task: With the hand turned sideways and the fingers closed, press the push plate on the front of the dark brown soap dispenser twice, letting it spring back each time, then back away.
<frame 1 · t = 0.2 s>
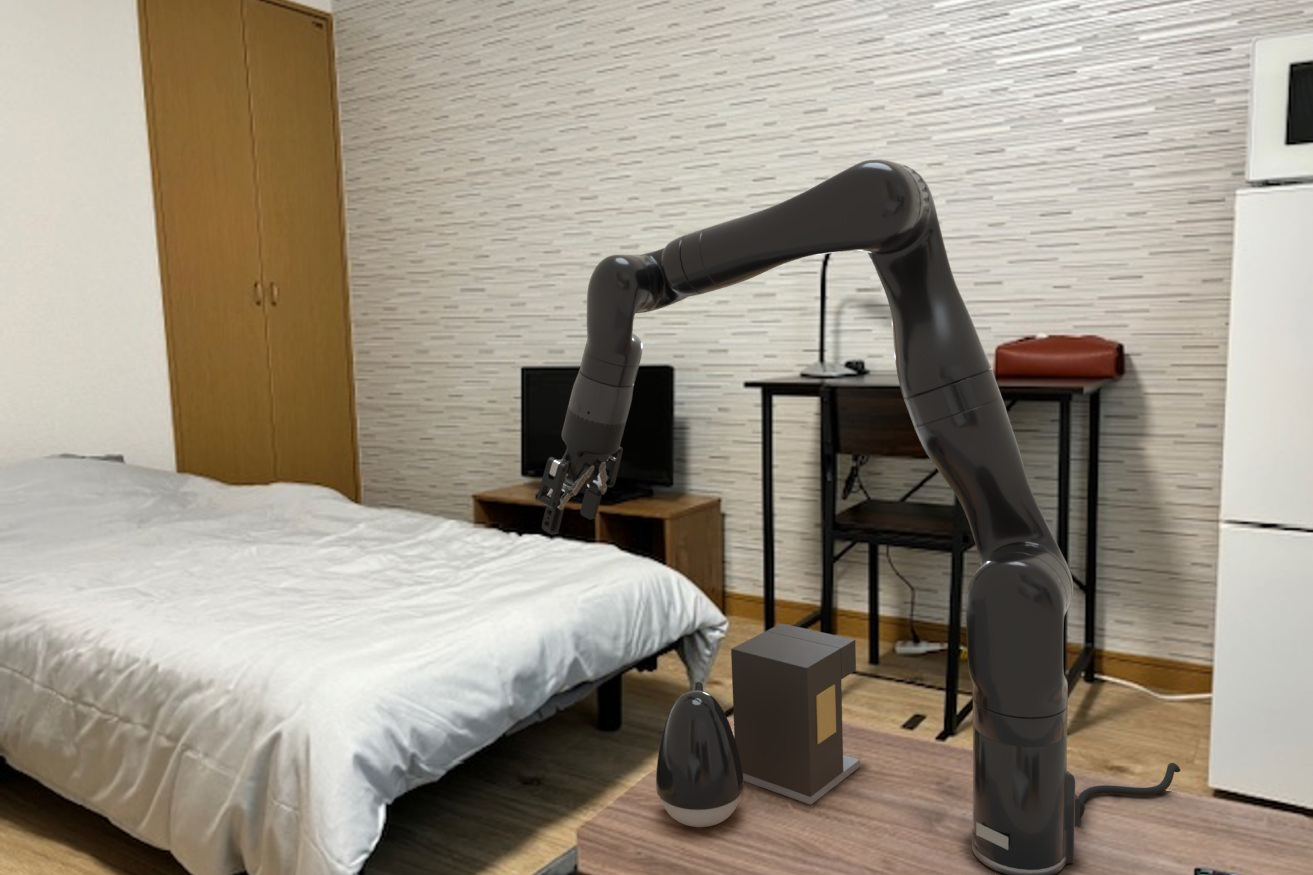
hand: (568, 524, 129), 31 cm above the table, tool tilted 20°, fingers open, 8 cm apart
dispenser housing: (792, 776, 124), on the table
pump dispenser: (701, 816, 116), on the table
push plate: (813, 692, 126), point 9 cm above the table, slide at -0.1 cm
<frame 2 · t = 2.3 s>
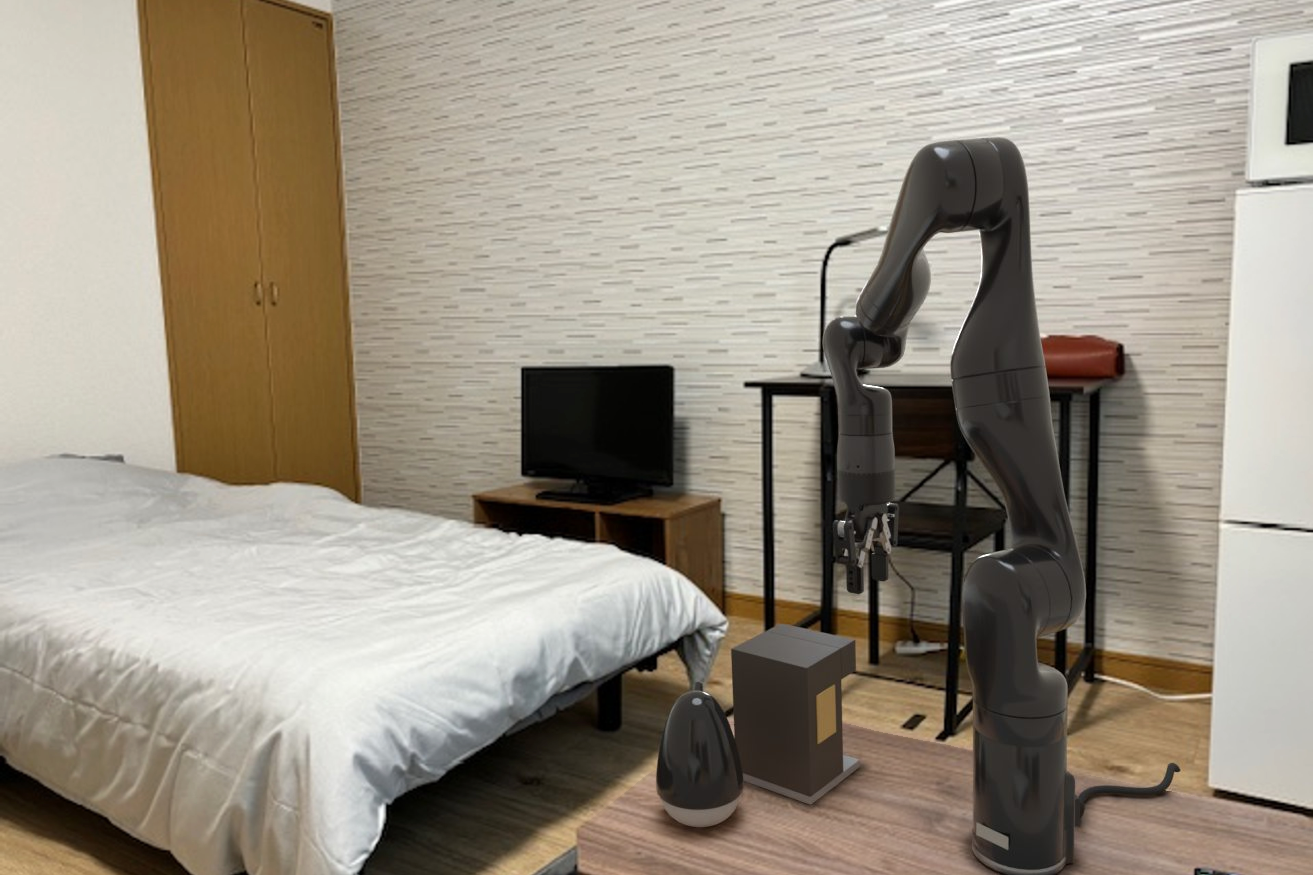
hand: (868, 585, 135), 20 cm above the table, tool pointing down, fingers open, 6 cm apart
nothing on the table moved.
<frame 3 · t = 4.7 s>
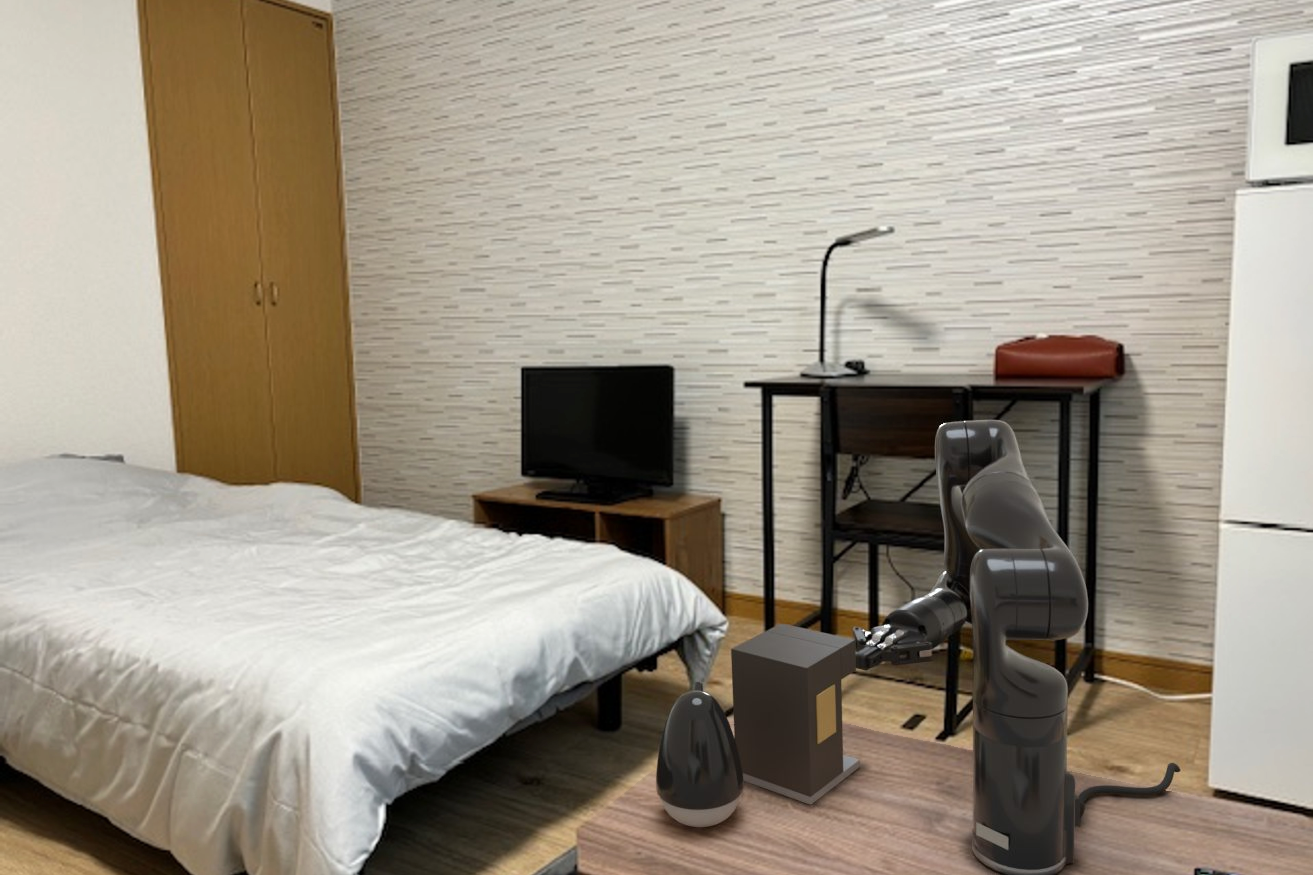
hand: (860, 662, 135), 9 cm above the table, tool horizontal, fingers closed
nothing on the table moved.
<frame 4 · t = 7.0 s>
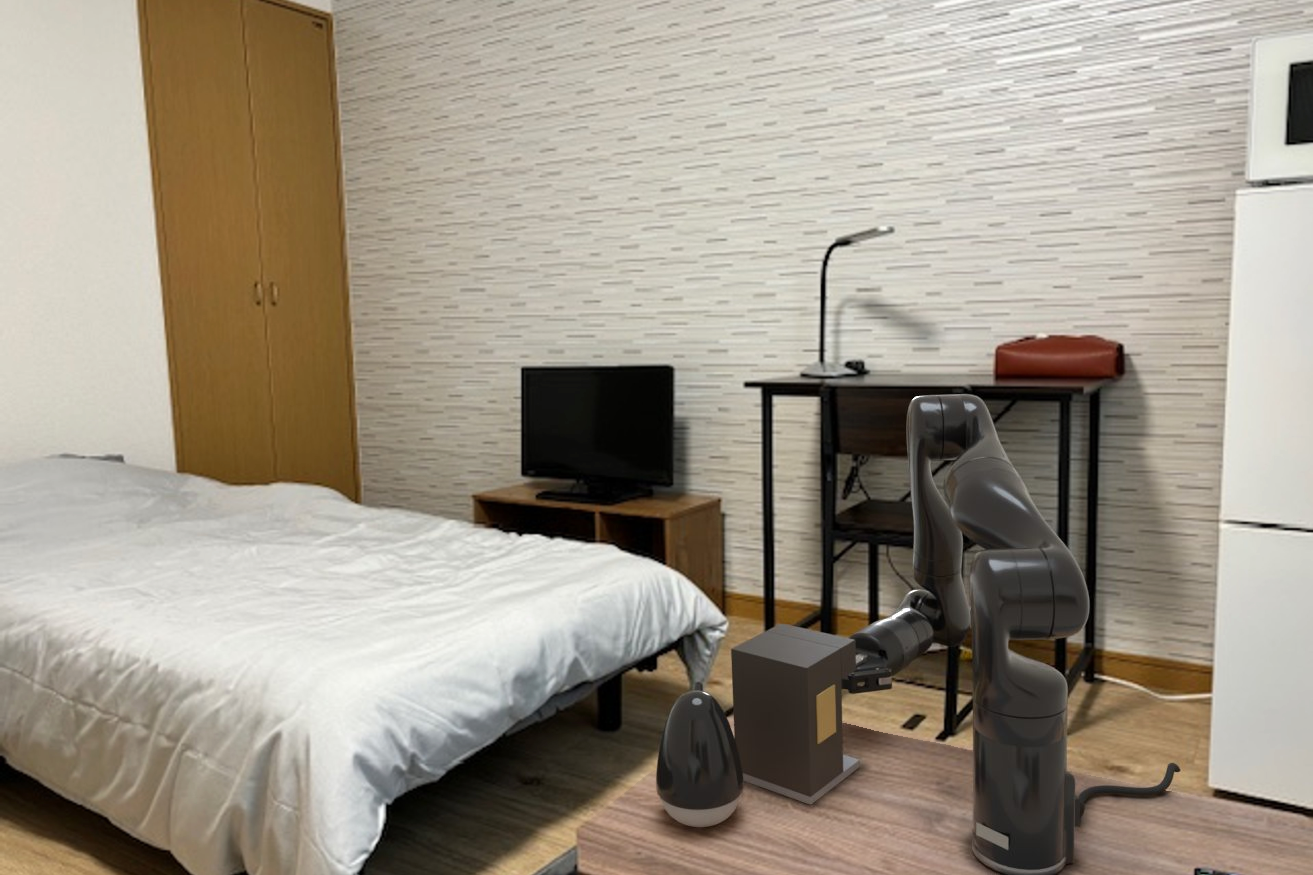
hand: (814, 691, 126), 9 cm above the table, tool horizontal, fingers closed
push plate: (811, 693, 126), point 9 cm above the table, slide at 0.4 cm, touching gripper
everything else where it was.
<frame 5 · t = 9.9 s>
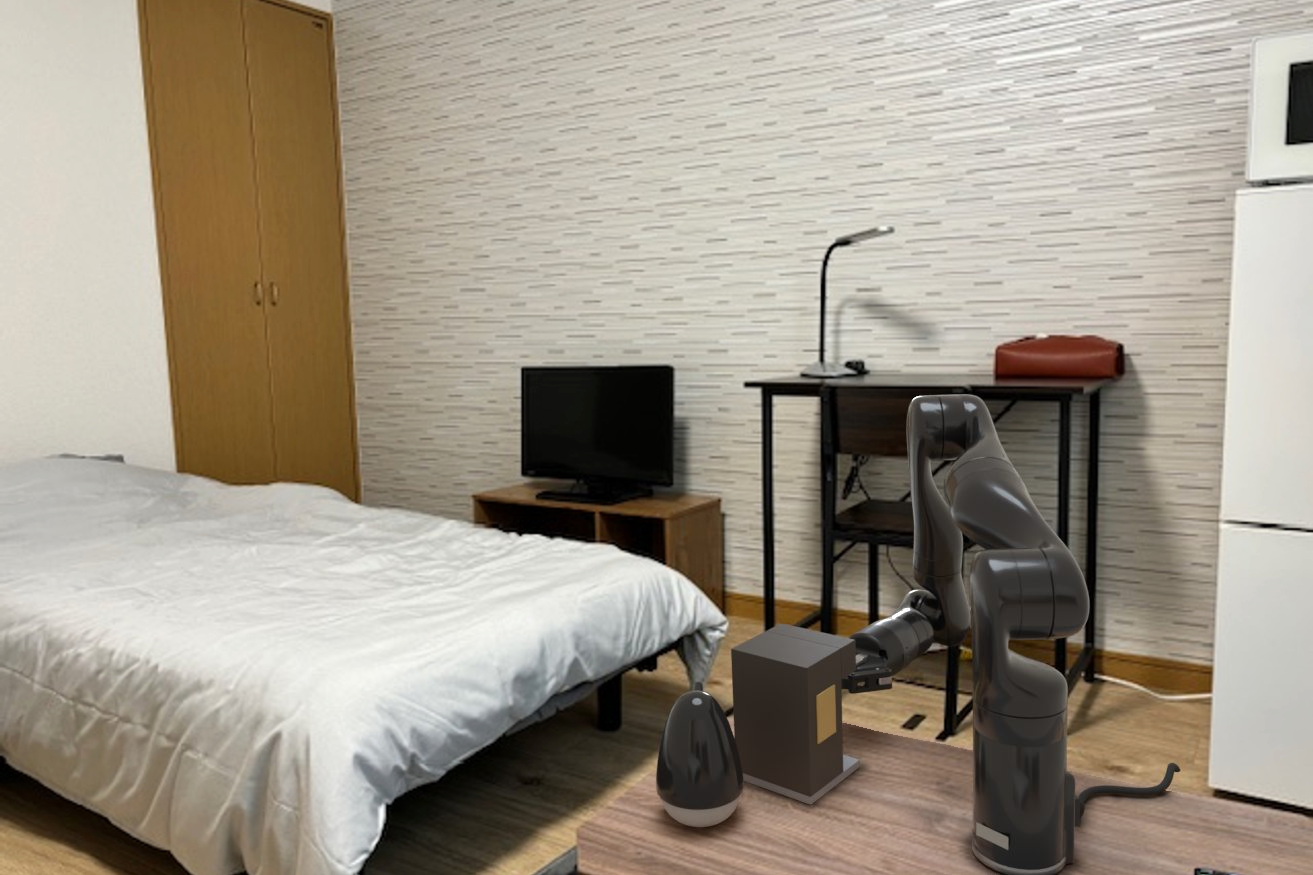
hand: (814, 691, 126), 9 cm above the table, tool horizontal, fingers closed
nothing on the table moved.
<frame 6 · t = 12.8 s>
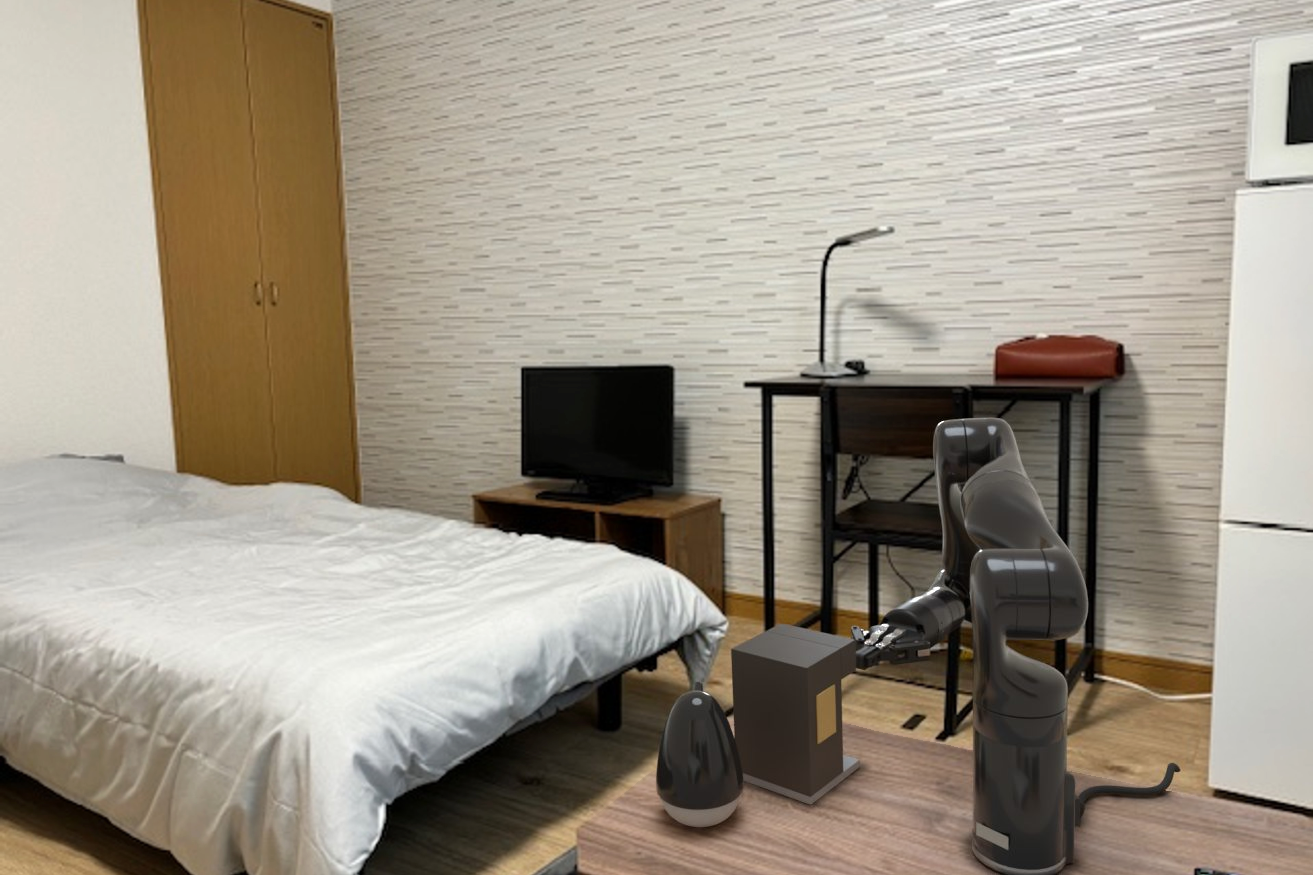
hand: (858, 662, 135), 9 cm above the table, tool horizontal, fingers closed
push plate: (813, 692, 126), point 9 cm above the table, slide at -0.1 cm
everything else where it was.
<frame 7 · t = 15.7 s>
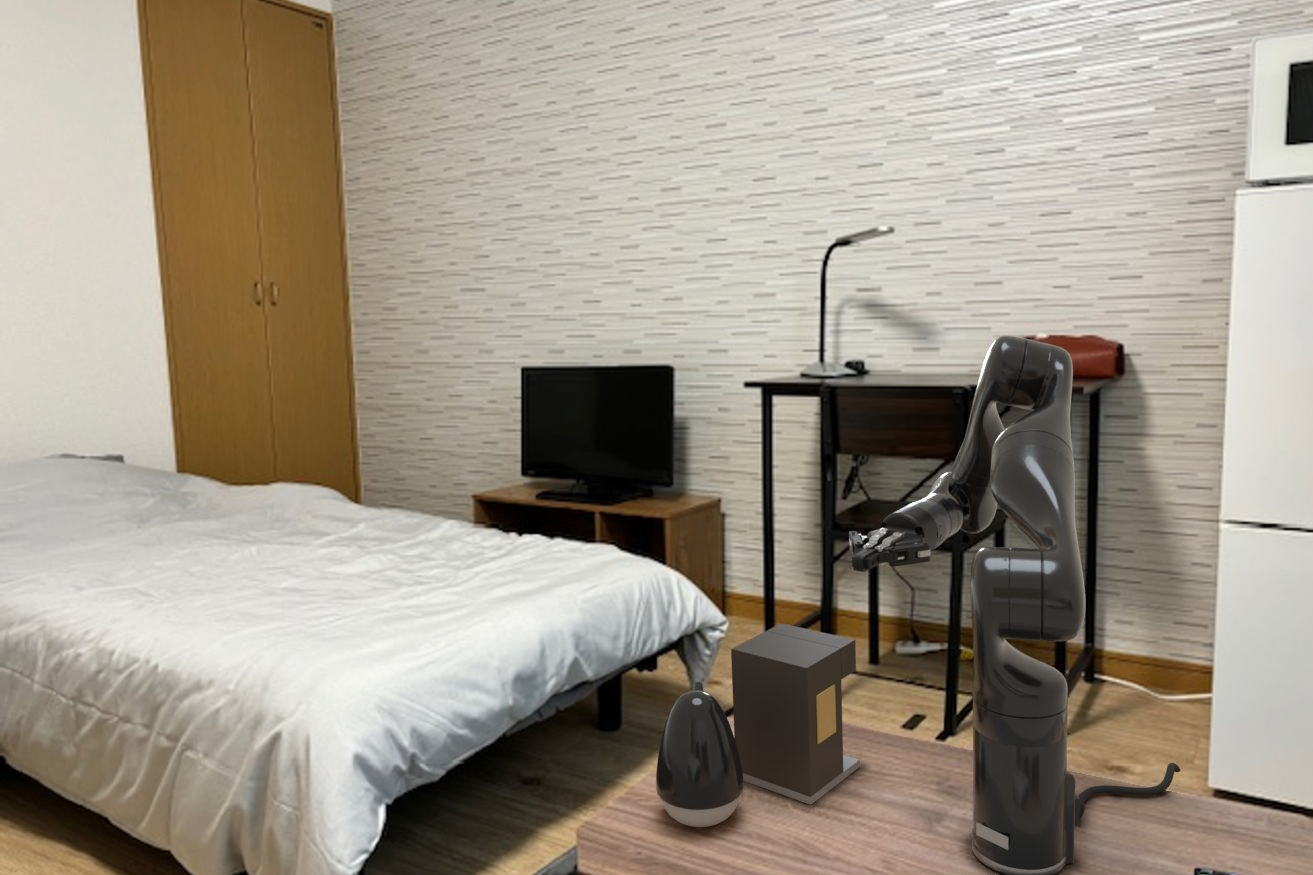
hand: (858, 564, 133), 23 cm above the table, tool horizontal, fingers closed
nothing on the table moved.
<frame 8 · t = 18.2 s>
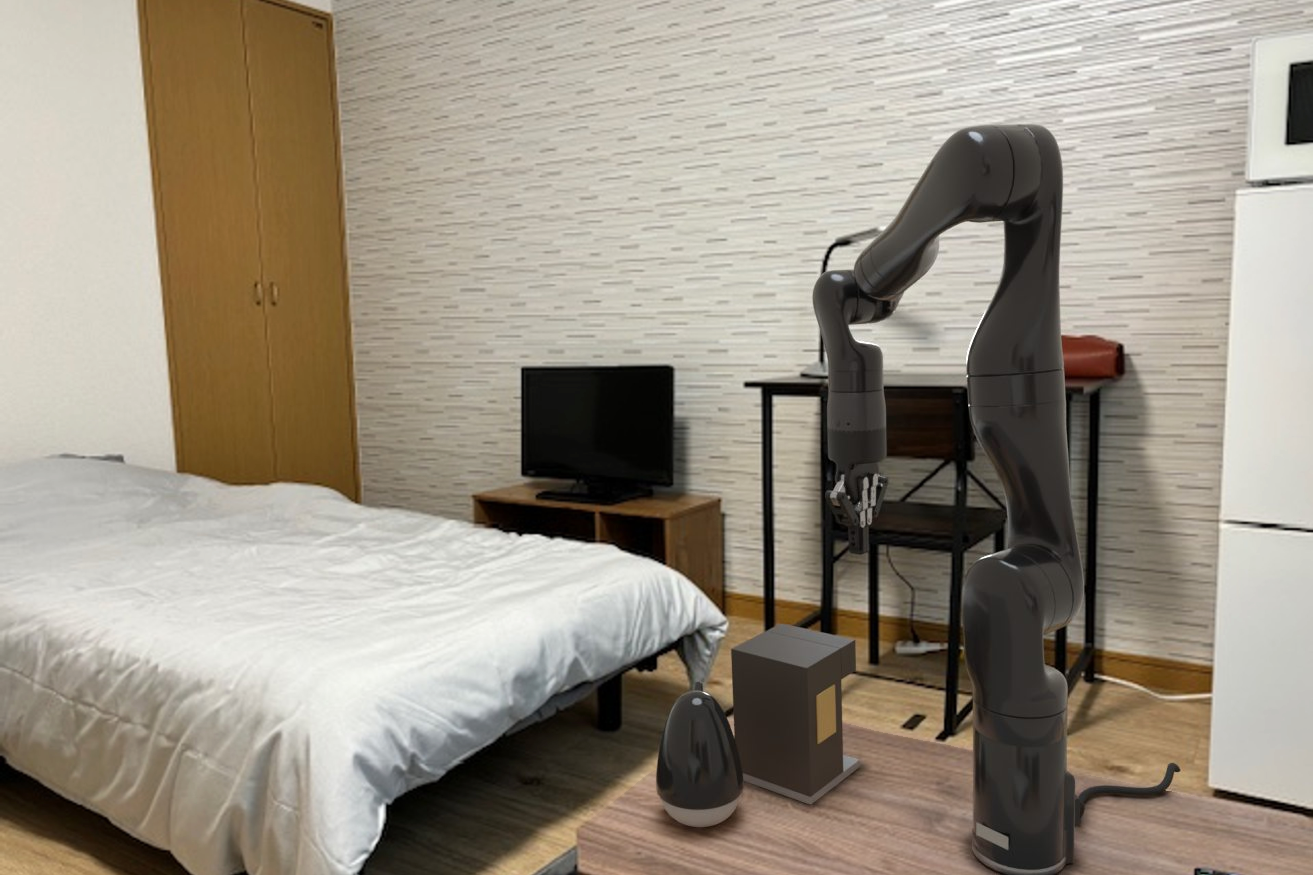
hand: (858, 552, 132), 25 cm above the table, tool pointing down, fingers closed
nothing on the table moved.
at the end: push plate pulled out 0.9 cm at the most during the clip and back in by the end; pump dispenser moved 0.2 cm from its start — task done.
